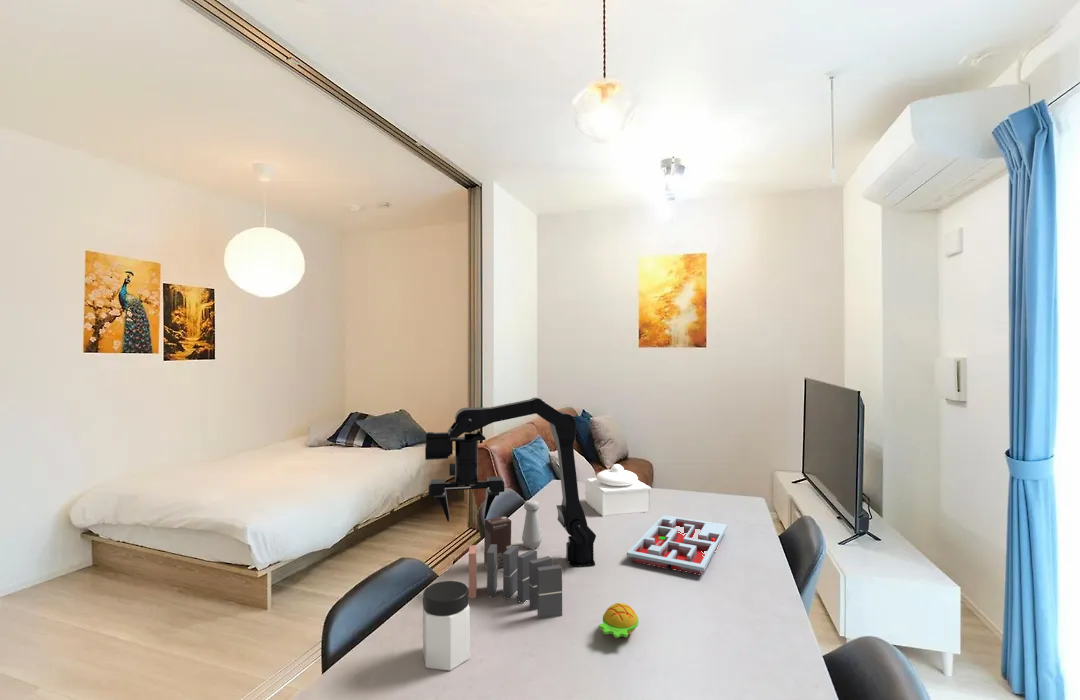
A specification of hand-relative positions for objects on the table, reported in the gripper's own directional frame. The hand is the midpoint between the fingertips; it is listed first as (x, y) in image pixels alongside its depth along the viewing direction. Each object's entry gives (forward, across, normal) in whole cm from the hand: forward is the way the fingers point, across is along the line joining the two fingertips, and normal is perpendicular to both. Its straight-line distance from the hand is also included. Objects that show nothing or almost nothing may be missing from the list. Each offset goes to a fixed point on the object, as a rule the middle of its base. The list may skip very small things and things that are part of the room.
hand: (466, 519), depth 125 cm
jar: (+14, +5, +34) cm, 37 cm away
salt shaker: (+14, -19, -14) cm, 27 cm away
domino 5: (+13, -15, +20) cm, 28 cm away
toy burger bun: (+14, -28, +34) cm, 46 cm away
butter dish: (+14, -56, -44) cm, 72 cm away
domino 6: (+13, -16, +24) cm, 32 cm away
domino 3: (+13, -10, +13) cm, 21 cm away
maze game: (+14, -60, -4) cm, 62 cm away
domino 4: (+13, -13, +16) cm, 24 cm away
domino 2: (+13, -5, +11) cm, 18 cm away
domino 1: (+13, -1, +11) cm, 17 cm away
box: (+14, -8, -3) cm, 16 cm away
